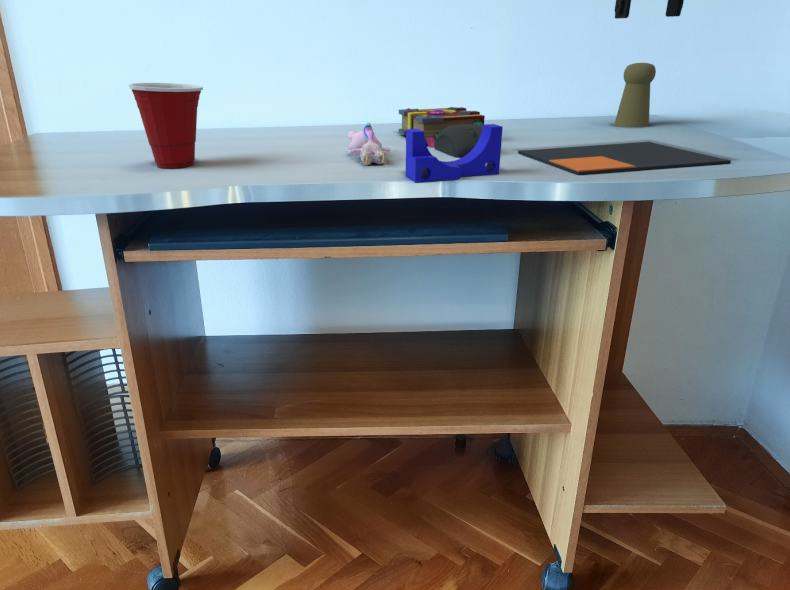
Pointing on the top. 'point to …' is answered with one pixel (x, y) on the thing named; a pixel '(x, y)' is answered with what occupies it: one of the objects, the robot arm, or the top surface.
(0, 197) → the top surface
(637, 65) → the cork
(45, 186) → the top surface
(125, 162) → the top surface
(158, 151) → the plastic cup
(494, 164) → the blue cradle bracket
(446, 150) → the computer mouse
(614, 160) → the desk mat
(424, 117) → the decorative book
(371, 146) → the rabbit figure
